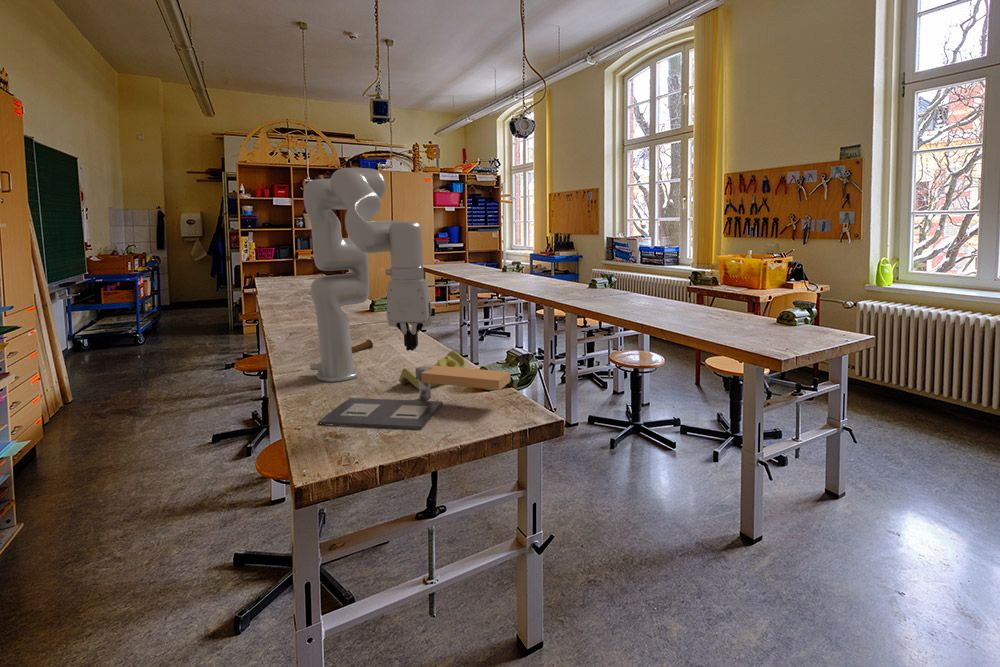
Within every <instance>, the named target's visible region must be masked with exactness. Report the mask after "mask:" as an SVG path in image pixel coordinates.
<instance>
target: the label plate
mask: <svg viewBox="0 0 1000 667" xmlns="http://www.w3.org/2000/svg"><path fill="white" fill-rule="evenodd" d="M418 392H419V393H418V394H419V400H416V399H415V400H413V399H412V400H411V399H393V398H392V399H390V398H389V399H387V398H362V397H360V398H359V397H349V398H348V399H346V400H345V401H343V402H342V403H341V404H339V405H338V406H337V407H336V408H334V409H333V410H332V411H330V412H329V413H327V414H326V415H325V416H323V417H321V418H320V419H319V420H318V421H317V425H318V424H320V423H321V424H333V425H332V426H338V425H346V426H345V427H358V426H360V427H361V428H363V427H364V428H381V429H382V428H383V429H401V430H402V429H403V430H421V429H422V428H423V429H424V427H425V426H426V425H427V424H428V423H429V422H430V420H431V419H432V418H433V417H434V415H435V414H436V413H437V412H438V411H439V410H440V408H441V407H442V406H443V401H441V400H439V401H438V400H437V401H436V400H431V399H430V398H432V397H431V388H430V383H425V382H422V380H419V389H418ZM429 399H430V400H429ZM441 405H442V406H441ZM440 406H441V407H440ZM439 407H440V408H439ZM436 411H437V412H436ZM435 412H436V413H435ZM432 416H433V417H432ZM431 417H432V418H431ZM423 429H422V430H423Z"/></svg>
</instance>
